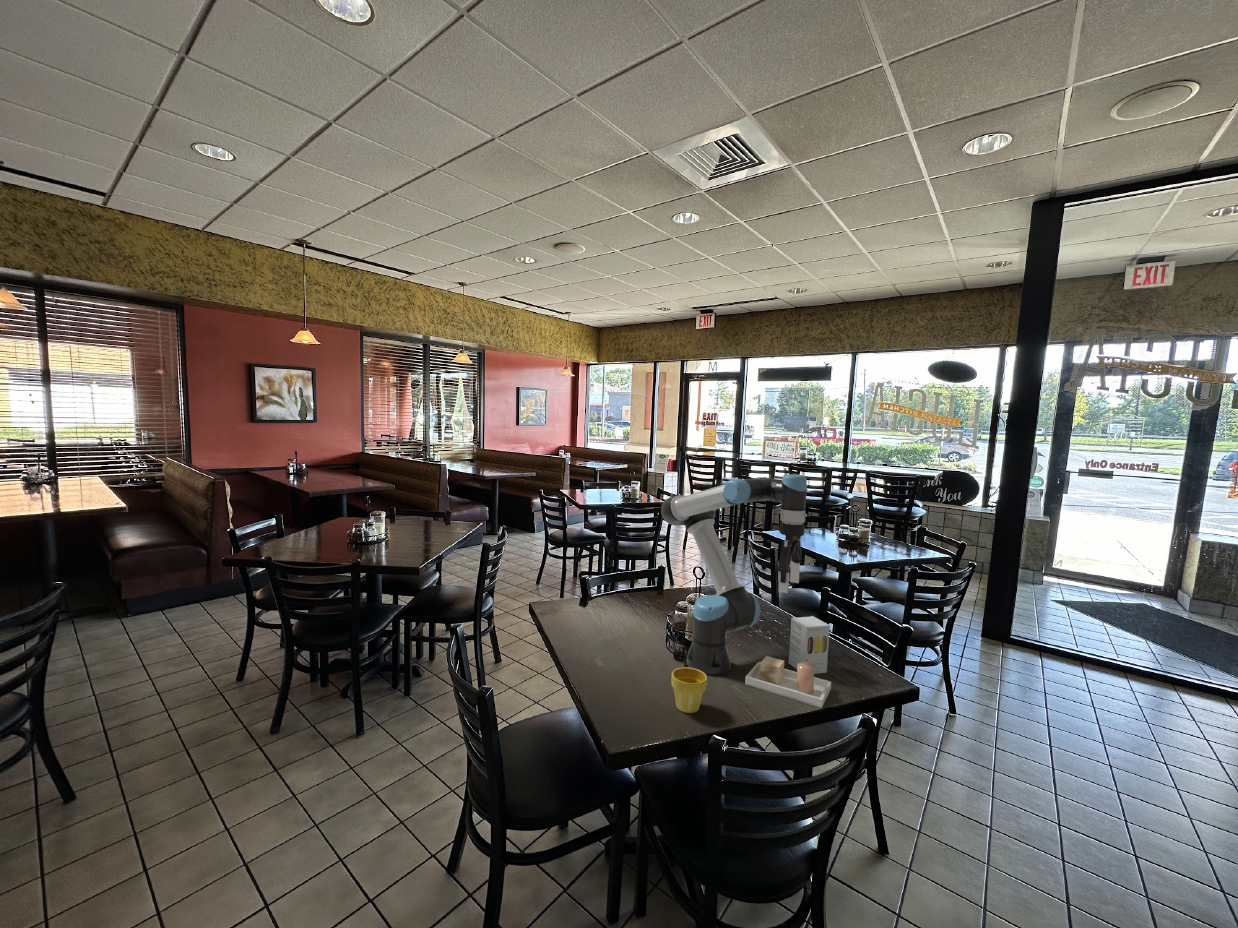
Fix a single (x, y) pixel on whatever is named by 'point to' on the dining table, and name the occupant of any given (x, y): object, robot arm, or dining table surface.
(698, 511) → the robot arm
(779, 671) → the maple cube
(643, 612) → the dining table surface
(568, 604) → the dining table surface
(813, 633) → the supplement box
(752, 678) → the tray
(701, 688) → the plant pot
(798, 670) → the terracotta cylinder
